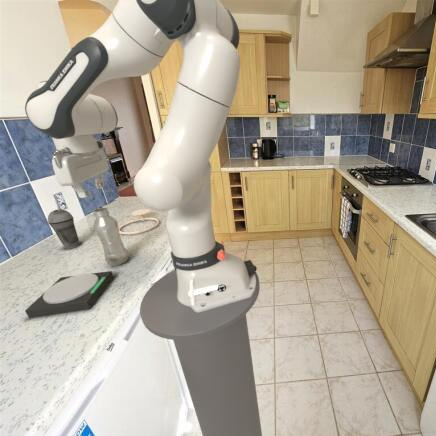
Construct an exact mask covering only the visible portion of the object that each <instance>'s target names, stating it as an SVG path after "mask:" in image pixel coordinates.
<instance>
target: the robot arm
mask: <svg viewBox="0 0 436 436" xmlns="http://www.w3.org/2000/svg"><path fill="white" fill-rule="evenodd" d="M176 41H177V42H178V43H179V45H180V46H181V49H182V54H183V57H182V65H181V68H180V71H179V74H178V78H177V81H176V85H175V89H174V93H173V96H172V100H171V103H170V107H169V110H168V113H167V117H166V119H165V122H164V124H163V126H162V129H161V131H160V133H159V134H158V136H157V138H156V140H155V142H154V144H153V146H152V149H151V150H150V153H149V155H148V157H147V158H146V160H145V162H144V163H143V165H142V166H141V168H140V169H139V170H138V172H137V173H136V174H135V176H134V179H133V188H134V192H135V195H136V197H137V198H138V199H139V201H140V202H141V203H142V204H143V205H145V206H146V207H148V209H149V208H150V209H151V210H154V211H157V212H167V216H166V219H165V230H166V233H167V238H168V241H169V245H170V248H171V252H170V257H171V262H172V266H173V268H174V270H175V271H176V272H177V281H178V290H177V299H178V301H179V302H180V303H182V304H183V305H186V306H189V307H191V308H192V309H193V310H194V311H195V312H197V313H199V312H203V311H206V310H209V309H213V308H216V307H219V306H223V305H226V304H229V303H233V302H236V301H240V300H243V299H246V298H249V297H251V296H252V295H253V294H254V292H255V290H256V277H255V274H256V273H257V269H258V268H257V266H256V265H254V263H253V262H252V260H251V259H248V260H243V259H242V258H241V257H239V256H236V255H234V254H231V253H229V252H227V251H225V249H226V248H225V245H224V242H223V240H220V241H221V242H219V241H217V240H216V238H215V236H216V235H215V231H214V224H213V217H212V180H211V179H212V164H211V162H210V159H211V156H212V154H213V153H214V150H215V148H216V146H217V145H218V143H219V141H220V138H221V135H222V133H223V130H224V127H225V125H226V123H227V119H228V115H229V113H230V110H231V107H232V105H233V103H234V99H235V94H236V91H237V87H238V83H239V77H240V73H241V72H240V71H241V65H242V64H241V63H242V61H241V55H240V53H239V51H238V48H239V44H240V29H239V26H238V24H237V21H236V19H235V18H234V15H233V14H232V13H231V11H230V10H229V9H228V8H227V7H226V6H224V4H223V3H222V2H221V1H220V0H118V1H117V3H116V4H115V6H114V8H113V9H112V11H111V13H110V14H109V16H108V18H107V19H106V20H105V21H104V23H103V24H101V25H100V27H99V28H98V29H97V30H96V31H94V32H93V33H92V34H90V35H89V36H87V37H85V38H83V39H81V40H80V41H78V42H77V43H76V44H75V45H74V46H73V47H72V48H71V49H70V51H69V52H68V53H67V55H66V56H65V57H64V58H63V60H62V61H61V62H60V64H59V65H58V66H57V67H56V69H55V70H54V71H53V73H51V76H49V78H48V80H44V81H40V82H39V83H37V84H36V86H35V90H34V91H33V92H31V93H30V95H29V96H28V97H27V99H26V101H25V106H24V112H25V115H26V118H27V119H28V121H29V123H30V124H31V125H32V126H33V127H34V128H36V129H37V130H38V131H39V132H40V133H41V132H42V133H43V134H45V135H46V136H48V137H51V138H52V142H53V144H54V146H55V149H56V150H54V153H53V155H52V159H51V165H52V168H53V172H54V175H55V178H56V181H57V183H58V184H59V185H60V186H61V187H71V188H72V189H73V190H74V191H75V192H76V193H77V196H78V198H80V199H85V198H87V197H89V192H88V190H87V189H85V188H84V184H83V182H86V181H88V180H90V179H92V178H94V180H95V183H94V186H95V188H96V189H97V190H102V189H104V188H105V184H104V174H103V173H106V172H108V171H109V162H108V158H107V155H106V152H105V150H104V149H105V145H104V142H103V141H102V140H99V139H97V138H95V137H94V136H93V135H98V134H108V133H110V132H113V131H115V129H116V128H117V126H118V121H119V119H118V118H119V117H118V114H117V111H116V109H115V107H114V106H113V104H112V103H111V102H110V101H109V100H108V99H107V98H106V97H103V96H99V95H95V94H93V93H91V92H93V90H94V88H96V87H97V86H98V85H100V84H102V83H104V82H107V81H110V80H114V79H121V78H122V79H123V78H132V77H133V78H134V77H143V76H146V75H148V74H150V73H151V72H153V70H155V69H156V68H157V67H158V66H159V65H160V63H161V62H162V61H163V59H164V58H165V56H166V55H167V54H168V52H169V50H170V49H171V47H172V46H173V44H174V43H175V42H176Z"/></svg>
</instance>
